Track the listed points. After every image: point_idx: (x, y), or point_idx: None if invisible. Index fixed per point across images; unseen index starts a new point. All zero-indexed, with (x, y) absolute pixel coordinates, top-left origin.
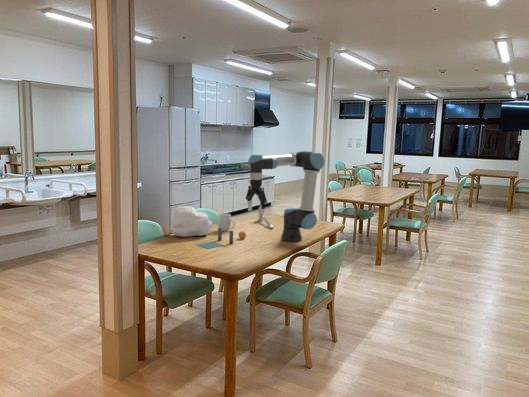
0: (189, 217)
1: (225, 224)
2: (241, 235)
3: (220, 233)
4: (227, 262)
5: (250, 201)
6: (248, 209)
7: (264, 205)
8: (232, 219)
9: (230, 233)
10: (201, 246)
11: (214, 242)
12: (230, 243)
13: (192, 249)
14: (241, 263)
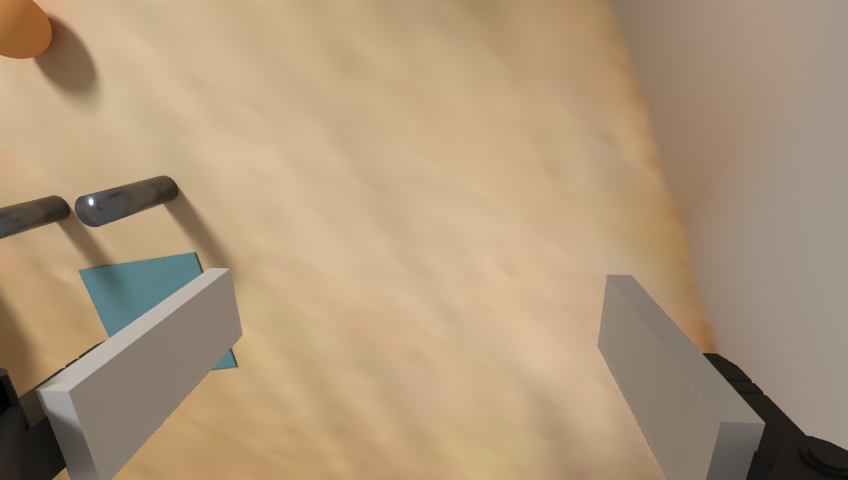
0: None
1: None
2: (34, 47)
3: (18, 223)
4: (544, 421)
5: (99, 427)
6: (223, 349)
7: (783, 414)
8: None
9: (117, 219)
10: None
11: (109, 268)
12: (171, 199)
13: (220, 429)
14: (608, 380)
